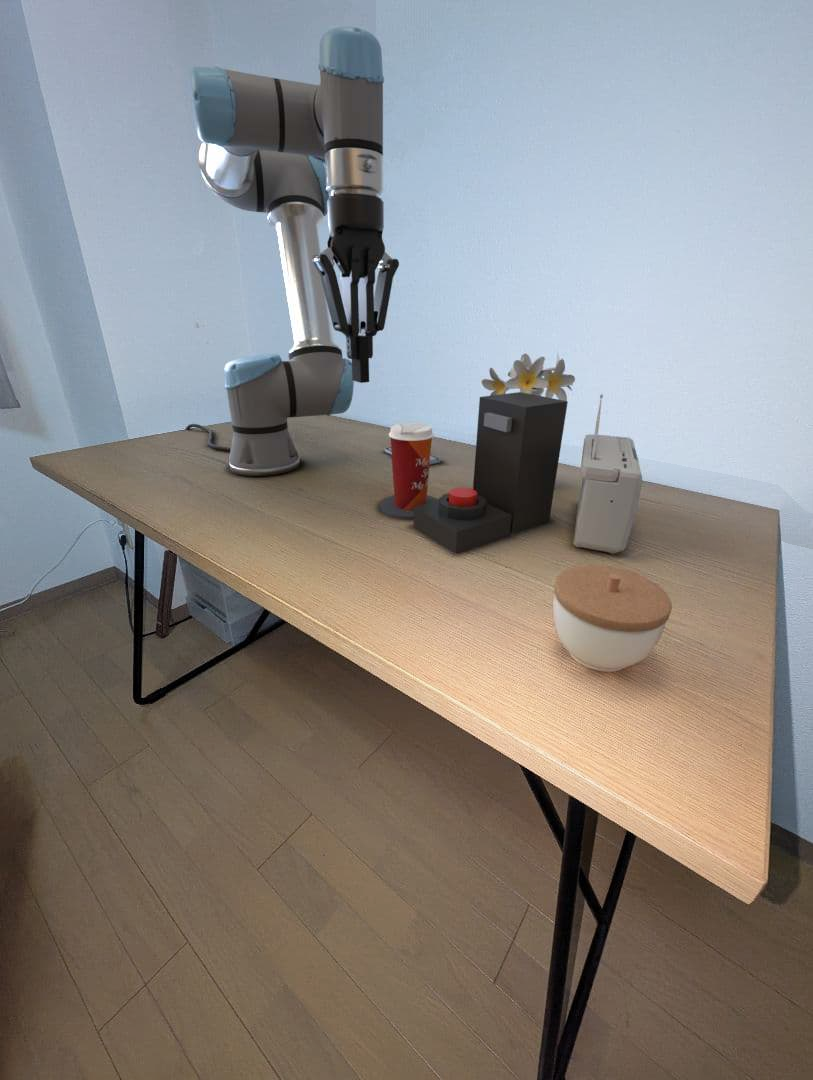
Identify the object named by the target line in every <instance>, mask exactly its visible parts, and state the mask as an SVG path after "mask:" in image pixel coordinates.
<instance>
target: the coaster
mask: <svg viewBox="0 0 813 1080" xmlns="http://www.w3.org/2000/svg"><path fill="white" fill-rule="evenodd" d="M436 501H439V499H437V498H435V497H433V496H430V495H427V498H426V504H428V503H432V502H436ZM379 507H380V511H381V512H382V513H383V514H385V515H387V516H389V517H391V518H396V519H399V520H400V519H401V520H414V510H403V509H400V508H398V507H396V505H395V497H394V494H393V495H390V496H388V497H386V498H384V499H383V500H381V502H380V504H379Z"/></svg>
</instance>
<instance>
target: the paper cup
mask: <svg viewBox="0 0 813 1080" xmlns="http://www.w3.org/2000/svg"><path fill="white" fill-rule="evenodd" d="M434 436H435V434H434V432H433V429H432V426H430V425H428V424H425V423H420V422H419V423H418V422H402V423H395V424H393V425H392V426H391V427H390V431H389V432H388V437H389V438H390V447H391V453H392V455H391V466H392V468H391V469H392V480H393V481H392V483H393V495H394V497H395V505H396V507H398V508H400V509H403V510H414V507H416V506H420V505H424V504H426V498H427V496H428V486H429V477H430V465H431V464H430V454H431V455H432V442H433V438H434Z"/></svg>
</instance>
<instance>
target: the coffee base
mask: <svg viewBox="0 0 813 1080" xmlns="http://www.w3.org/2000/svg"><path fill="white" fill-rule="evenodd" d="M511 517H512V515H511V514H509V513H507V512H504V511H502V510H500V509H498V508H496V507H494V506H491V505H489V504H487V502H486V500H485V498H484V497H482V496H479V495H477V504H476V505H472V506H457V505H452V504H450V503H449V492H448V493H444V494H442V495H441V496H440V497H439V498H438V501H436V502H432V503H428V504H424V505H420V506H416V507H414V519H413V528H414V529H415V530H417V531H419V532H421V533H422V534H423V535H425V536H426V537H428V538H430V539H431V540H433V541H435V542H436V543H438V544H439V545H441V546H442V547H445V548H446V549H448V550H449V551H451V552H453V553H454V554H459V553H463V552H465V551H467V550H471V549H474V548H477V547H480V546H483V545H486V544H489V543H493V542H495V541H499V540H501V539H504V538H507V537H510V535H511V533H510V525H511Z"/></svg>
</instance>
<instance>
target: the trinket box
mask: <svg viewBox="0 0 813 1080" xmlns="http://www.w3.org/2000/svg"><path fill="white" fill-rule="evenodd" d="M672 609H673V605H672V601H671V598H670V596H669V594H668V593H667V592H666V591H665V590H664V589H663V588H662V587H661V586H660V585H658V584H657V583H656V582H654V581H653V580H651V579H649V578H647V577H645V576H644V575H641V574H639V573H636V572H634V571H631V570H628V569H625V568H621V567H616V566H613V565H612V566H611V565H603V564H602V565H601V564H581V565H576V566H572V567H569V568H567V569H564V570H562V572H561V573H560V574H559V575H557V577H556V579H555V583H554V595H553V603H552V618H553V619H552V620H553V627H554V630H555V634H556V636H557V637H558V640H559V641H560V644H562V646H563V647H564V649H565V650H566V651H567V652H568V654H569V655H570V657H571V658H572V659H573V660H574V661H576V662H577V663H578V664H580V665H581V666H583V667H584V668H588V669H590V670H592V671H597V672H602V673H613V672H618V671H621V670H623V669H625V668H628V667H633V666H634V665H636V664H638V663H640V662H642V661H643V660H644V659H646V658H647V657H648V656H649V655H650V654H651V653H652V652H653V650H654V648H655V647H656V645H657V644H658V643H659V641H660V638H661V637H662V634H663V632H664V629H665V626H666V623H667V621H668V620H669V618H670V615H671V613H672Z"/></svg>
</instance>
